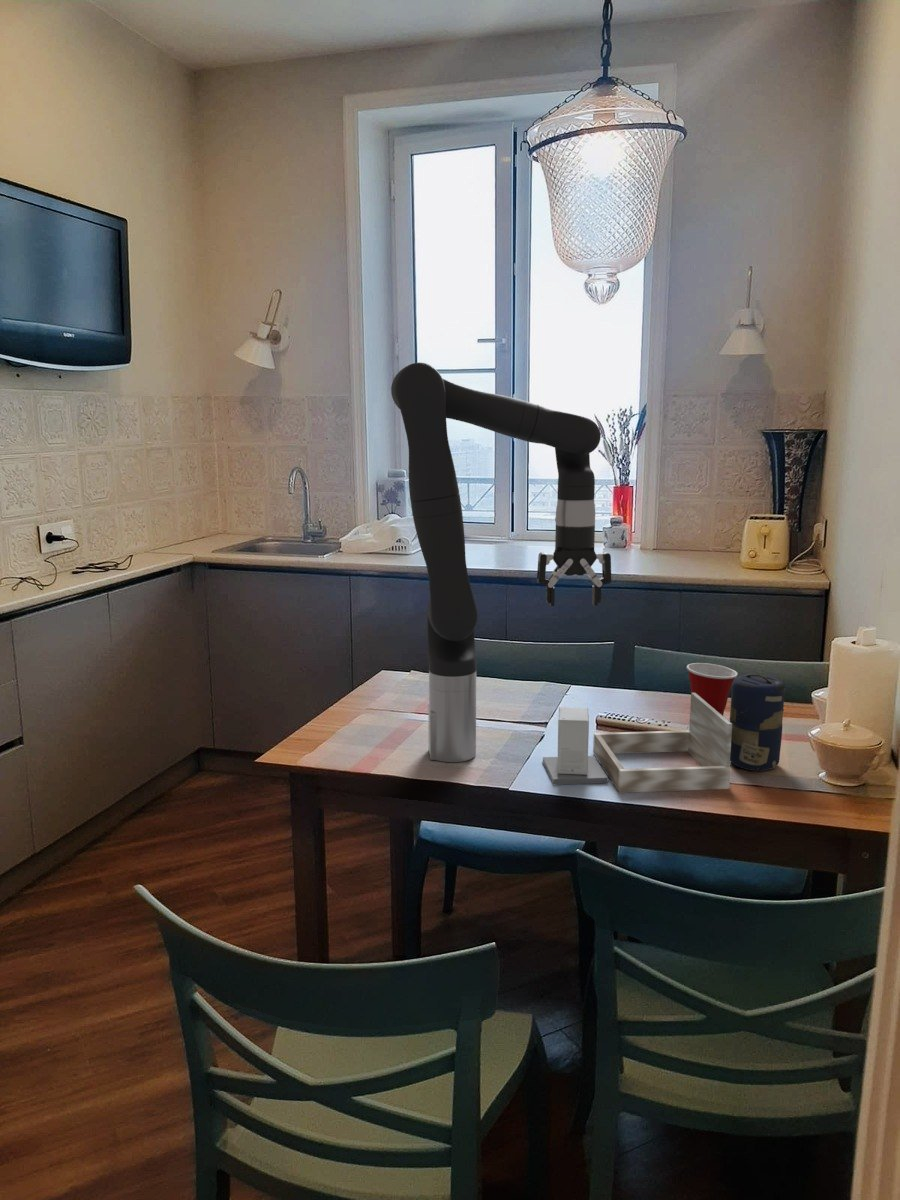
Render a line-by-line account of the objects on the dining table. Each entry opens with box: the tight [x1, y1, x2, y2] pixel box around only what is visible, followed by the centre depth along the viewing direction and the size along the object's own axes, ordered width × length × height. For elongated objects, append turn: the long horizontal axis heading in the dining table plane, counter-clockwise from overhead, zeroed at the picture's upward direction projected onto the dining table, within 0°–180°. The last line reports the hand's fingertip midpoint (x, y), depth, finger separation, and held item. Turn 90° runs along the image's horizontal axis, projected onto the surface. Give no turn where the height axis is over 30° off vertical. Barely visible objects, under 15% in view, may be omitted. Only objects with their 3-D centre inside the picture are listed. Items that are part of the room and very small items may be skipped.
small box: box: [557, 706, 590, 775], centre depth 167 cm, size 8×6×10 cm
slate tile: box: [542, 755, 609, 785], centre depth 168 cm, size 10×11×1 cm
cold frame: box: [592, 692, 732, 793], centre depth 168 cm, size 20×20×12 cm
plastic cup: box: [686, 662, 738, 717], centre depth 196 cm, size 11×11×12 cm
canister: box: [729, 673, 786, 771], centre depth 170 cm, size 10×10×18 cm
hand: (573, 605), depth 175 cm, fingers open, 8 cm apart
